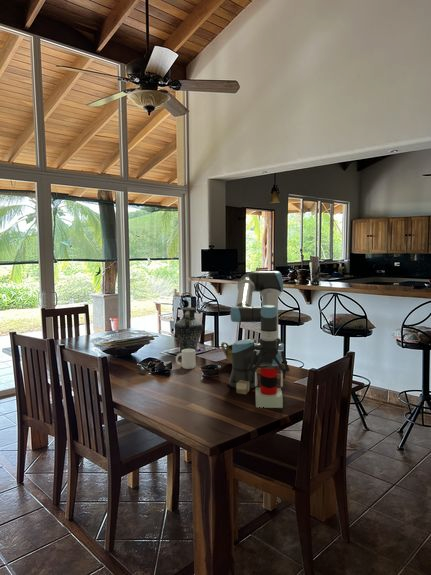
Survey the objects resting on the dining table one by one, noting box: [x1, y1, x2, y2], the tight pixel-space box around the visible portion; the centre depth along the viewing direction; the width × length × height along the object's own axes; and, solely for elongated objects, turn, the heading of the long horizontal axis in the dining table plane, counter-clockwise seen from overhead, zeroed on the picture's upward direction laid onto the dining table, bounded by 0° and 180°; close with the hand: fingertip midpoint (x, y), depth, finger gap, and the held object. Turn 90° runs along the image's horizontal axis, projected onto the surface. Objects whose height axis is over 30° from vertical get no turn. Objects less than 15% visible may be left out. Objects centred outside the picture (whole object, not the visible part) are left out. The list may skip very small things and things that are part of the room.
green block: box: [255, 387, 284, 409], centre depth 199 cm, size 12×12×5 cm
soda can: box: [260, 365, 278, 395], centre depth 198 cm, size 8×8×12 cm
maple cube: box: [235, 380, 250, 395], centre depth 213 cm, size 5×5×5 cm
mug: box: [175, 349, 196, 370], centre depth 255 cm, size 12×8×10 cm
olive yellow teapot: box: [220, 338, 257, 365], centre depth 260 cm, size 22×17×15 cm
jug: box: [174, 306, 204, 352], centre depth 291 cm, size 21×19×30 cm
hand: (268, 385), depth 198 cm, fingers open, 11 cm apart
